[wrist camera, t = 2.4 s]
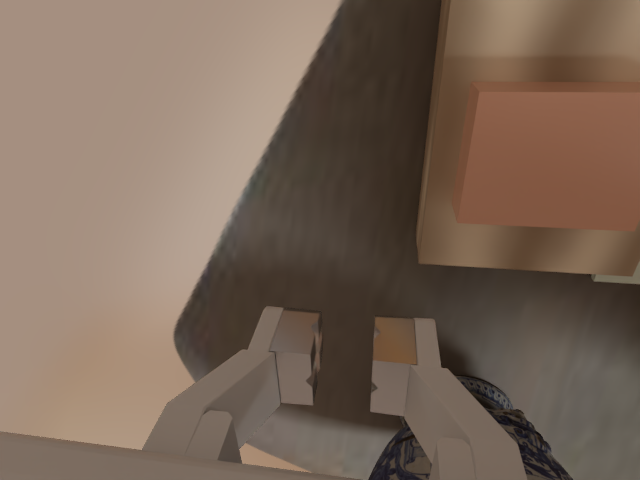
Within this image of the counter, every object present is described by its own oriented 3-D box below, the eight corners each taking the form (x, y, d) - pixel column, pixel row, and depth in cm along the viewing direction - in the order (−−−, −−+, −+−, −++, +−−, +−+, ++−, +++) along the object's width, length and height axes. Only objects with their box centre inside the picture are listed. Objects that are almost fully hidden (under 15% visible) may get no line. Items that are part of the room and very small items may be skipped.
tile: (663, 82, 20) (694, 92, 18) (613, 210, 24) (634, 231, 22) (470, 81, 21) (479, 91, 19) (451, 203, 25) (457, 223, 23)
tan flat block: (710, -28, 21) (773, -31, 17) (604, 242, 29) (632, 276, 26) (444, -20, 22) (453, -21, 19) (415, 233, 31) (418, 263, 27)
